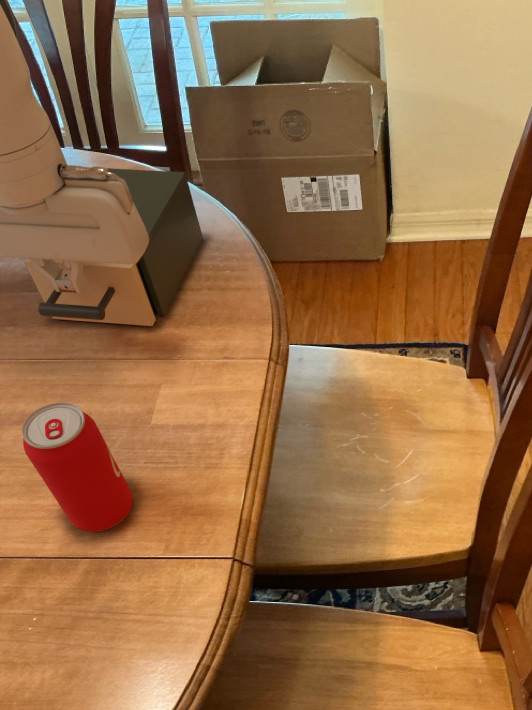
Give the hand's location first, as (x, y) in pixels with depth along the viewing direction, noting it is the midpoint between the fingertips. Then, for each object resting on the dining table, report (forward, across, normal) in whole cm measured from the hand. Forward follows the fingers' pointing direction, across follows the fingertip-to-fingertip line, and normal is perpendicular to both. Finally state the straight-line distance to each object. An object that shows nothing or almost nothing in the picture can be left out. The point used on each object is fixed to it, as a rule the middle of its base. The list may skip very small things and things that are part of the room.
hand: (72, 289), depth 83 cm
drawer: (+7, 0, -7) cm, 10 cm away
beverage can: (+8, -10, +23) cm, 26 cm away
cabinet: (+8, 0, -13) cm, 15 cm away
